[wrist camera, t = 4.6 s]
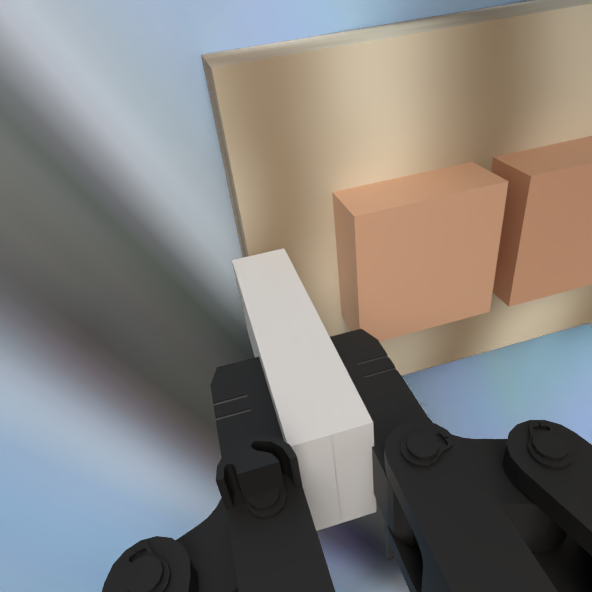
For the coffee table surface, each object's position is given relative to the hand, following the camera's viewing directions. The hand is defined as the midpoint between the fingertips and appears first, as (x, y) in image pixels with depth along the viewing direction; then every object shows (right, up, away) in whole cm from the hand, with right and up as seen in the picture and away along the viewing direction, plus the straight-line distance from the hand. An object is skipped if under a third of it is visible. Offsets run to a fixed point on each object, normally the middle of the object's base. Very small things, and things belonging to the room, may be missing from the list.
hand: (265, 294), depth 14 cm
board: (+6, +4, +4) cm, 8 cm away
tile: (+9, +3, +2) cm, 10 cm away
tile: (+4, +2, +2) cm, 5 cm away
